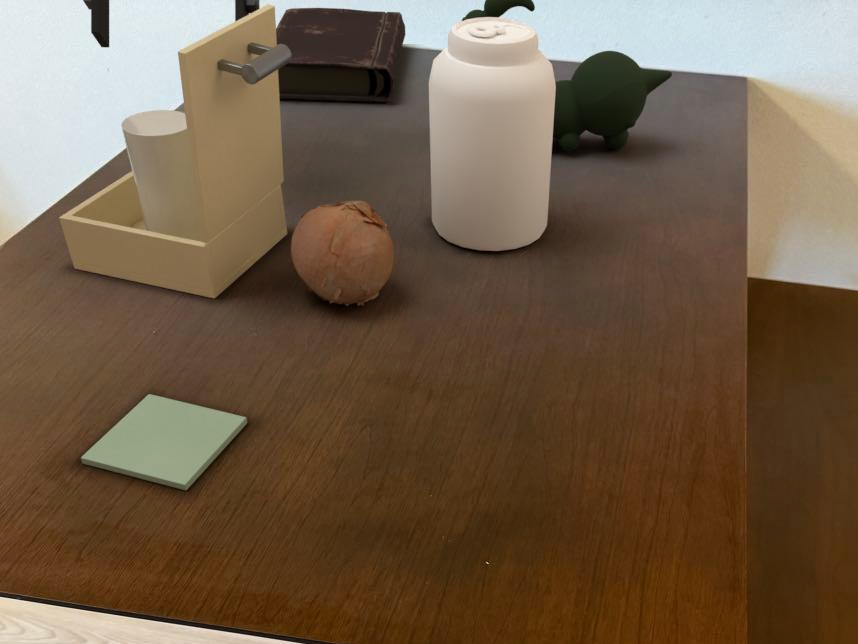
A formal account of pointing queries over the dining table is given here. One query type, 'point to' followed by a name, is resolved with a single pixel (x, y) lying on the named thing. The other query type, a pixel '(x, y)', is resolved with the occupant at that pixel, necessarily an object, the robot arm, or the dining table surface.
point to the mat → (165, 441)
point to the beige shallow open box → (167, 242)
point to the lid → (233, 118)
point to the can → (491, 135)
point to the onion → (343, 252)
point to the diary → (340, 54)
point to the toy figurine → (593, 91)
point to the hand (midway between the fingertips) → (171, 42)
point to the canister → (163, 172)
